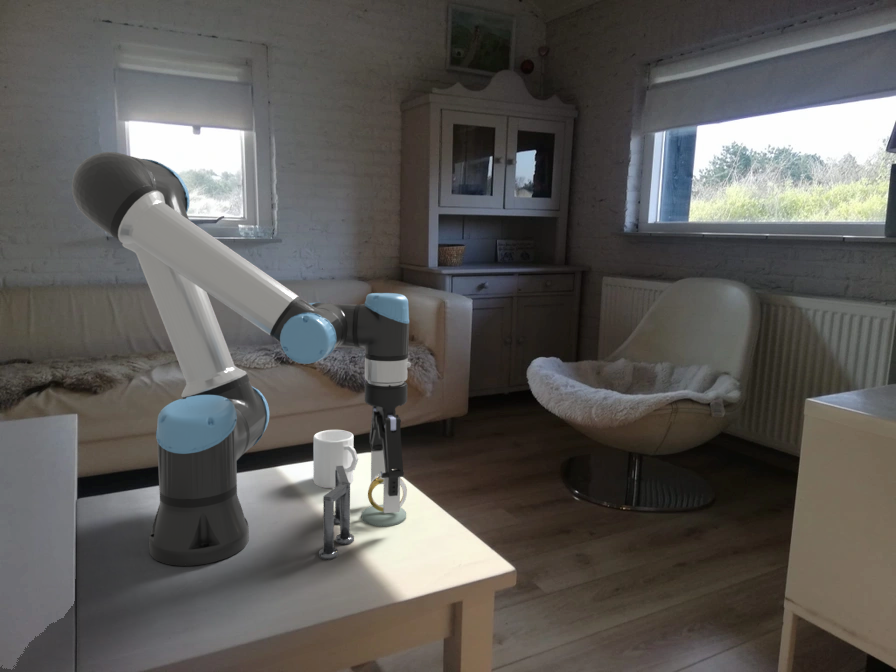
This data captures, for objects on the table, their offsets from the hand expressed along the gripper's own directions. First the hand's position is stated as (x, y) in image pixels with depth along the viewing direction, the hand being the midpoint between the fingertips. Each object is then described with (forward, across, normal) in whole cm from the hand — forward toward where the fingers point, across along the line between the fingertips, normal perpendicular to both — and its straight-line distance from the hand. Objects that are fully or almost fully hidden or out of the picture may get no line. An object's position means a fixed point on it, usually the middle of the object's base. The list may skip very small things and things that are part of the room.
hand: (384, 497), depth 118 cm
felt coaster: (+4, 0, 0) cm, 4 cm away
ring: (+3, 0, -1) cm, 3 cm away
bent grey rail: (+4, -6, +10) cm, 12 cm away
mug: (+4, +18, +6) cm, 19 cm away
